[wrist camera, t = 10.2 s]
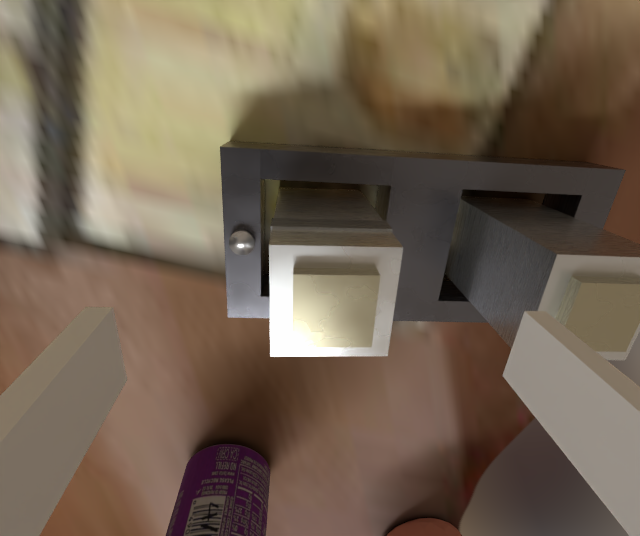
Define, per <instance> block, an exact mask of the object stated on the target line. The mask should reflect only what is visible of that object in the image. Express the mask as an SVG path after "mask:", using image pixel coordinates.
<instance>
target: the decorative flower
mask: <svg viewBox="0 0 640 536" xmlns="http://www.w3.org/2000/svg"><path fill="white" fill-rule="evenodd" d="M387 536H462V535H461V534H460V532H459V531H458V529H457V528H455V527H454V526H453V525H452V524H450V523H449V522H446V521H442V520H439V519H435V518H422V519H416V520H412V521H408V522H406V523H404V524H402V525H399V526H397V527H396V528H395V529H393V530H392V531H391V532H390V533H388V534H387Z"/></svg>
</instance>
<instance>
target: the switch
mask: <svg viewBox="0 0 640 536" xmlns="http://www.w3.org/2000/svg"><path fill="white" fill-rule="evenodd" d="M220 156H221V178H222V199H223V221H224V243H225V265H226V286H227V308H228V317H235V318H270V285H269V275H265V179H272V180H292V181H312V182H331V183H351V184H371V185H378V192H377V200H376V208H375V210H376V212H377V213H378V214H379V216H380V217H381V218H382V220H383V221H387V222H388V224H389V225H390V226H391V228H392V229H393V231H392V233H393V234H394V236H395V237H396V238H397V240H398V241H399V242H400V244H401V245H402V246H403V253H402V260H401V267H400V274H399V281H398V288H397V295H396V301H395V308H394V315H393V321H439V322H488V323H489V324H490V325H491V326H492V327H493V328H494V329H495V331H496V332H497V333H498V334H499V335H500V336H501V337H502V338H503V340H504V341H505V342H506V343H507V344H508V345H509V346H510V348H511V349H512V346H513V343H514V340H515V337H516V334H517V331H518V329H519V326H520V323H521V320H522V317H523V314H524V311H546V312H547V313H548V314H550V315H551V316H552V317H553V318H555V319H556V320H557V321H558V322H560V323H561V324H562V325H563V326H565V327H566V328H567V329H568V330H570V331H571V332H572V333H573V334H574V335H576V336H577V337H578V338H579V339H581V340H582V341H583V342H584V343H586V344H587V345H588V346H589V347H591V348H592V349H593V350H594V351H596V352H597V353H598V354H599V355H601V356H602V357H603V358H604V359H606V360H626V358H627V356H628V353H629V352H630V350H631V348H632V346H633V343H634V342H635V340H636V337H637V335H638V333H639V331H640V244H638V243H635V242H633V241H631V240H628V239H626V238H623V237H621V236H618V235H616V234H613V233H611V232H608V231H606V230H603V227H604V224H605V222H606V219H607V217H608V214H609V211H610V209H611V206H612V204H613V201H614V199H615V196H616V194H617V191H618V188H619V186H620V183H621V181H622V178H623V176H624V173H625V171H626V170H623V169H618V168H613V167H608V166H603V165H598V164H593V163H588V162H575V161H558V160H541V159H524V158H507V157H490V156H473V155H456V154H439V153H422V152H405V151H388V150H371V149H354V148H337V147H320V146H303V145H286V144H269V143H252V142H235V141H229V142H227V143H226V144H224V145H222V146H220ZM463 189H469V190H489V191H509V192H528V193H546V195H545V198H544V201H543V204H540V203H537V202H535V201H532V200H530V199H513V198H492V197H472V196H461V195H462V190H463ZM444 273H445V274H446V275H447V276H448V278H449V279H450V280H451V281H443V277H444Z"/></svg>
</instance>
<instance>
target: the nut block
mask: <svg viewBox="0 0 640 536" xmlns="http://www.w3.org/2000/svg"><path fill="white" fill-rule="evenodd" d="M392 231H393V229H392V228H391V226H390V225H389V224H388V222H387V221H383V220H382V218H381V217H380V216H379V214H378V213H377V212H376V210H375V209H374V208H373V207H372V205H371V204H370V203H369V201H368V200H367V199H366V197H365V196H364V195H363V193H362V192H361V191H360V190H342V189H309V188H279V193H278V198H277V204H276V209H275V215H274V218H272V222H271V236H270V242H269V285H270V357H280V356H388V349H389V342H390V336H391V329H392V322H393V315H394V308H395V301H396V295H397V288H398V281H399V274H400V267H401V260H402V253H403V246H402V245H401V244H400V242H399V241H398V240H397V238H396V237H395V236H394V234H393V233H392Z"/></svg>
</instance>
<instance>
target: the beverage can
mask: <svg viewBox="0 0 640 536" xmlns="http://www.w3.org/2000/svg"><path fill="white" fill-rule="evenodd" d="M269 482H270V469H269V466H268V464H267V462H266V460H265V459H264V458H263V457H262V456H261V455H260V454H259V453H257V452H256V451H254V450H252V449H250V448H247V447H244V446H240V445H234V444H220V445H214V446H210V447H207V448H205V449H203V450H201V451H199V452H197V453H196V454H195V455H194V456H193V457H192V458H191V459H190V460H189V462H188V464H187V466H186V469H185V473H184V476H183V479H182V483H181V486H180V489H179V493H178V496H177V500H176V503H175V506H174V510H173V513H172V516H171V520H170V523H169V526H168V530H167V533H166V536H266V525H267V511H268V496H269Z"/></svg>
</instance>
